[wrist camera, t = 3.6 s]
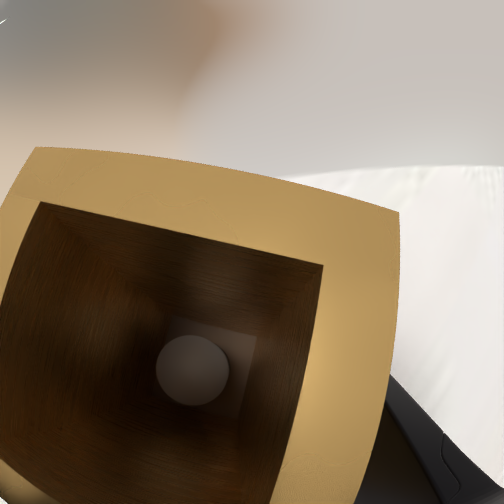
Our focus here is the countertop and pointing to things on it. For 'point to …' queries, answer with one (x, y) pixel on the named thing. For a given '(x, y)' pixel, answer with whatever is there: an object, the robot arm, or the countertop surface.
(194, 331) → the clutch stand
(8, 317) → the gold square tube
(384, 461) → the robot arm
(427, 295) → the countertop surface
